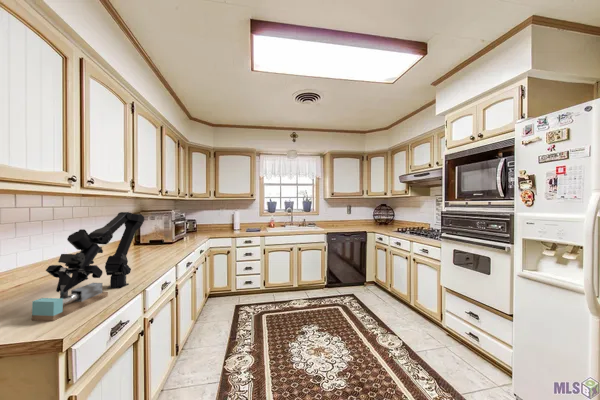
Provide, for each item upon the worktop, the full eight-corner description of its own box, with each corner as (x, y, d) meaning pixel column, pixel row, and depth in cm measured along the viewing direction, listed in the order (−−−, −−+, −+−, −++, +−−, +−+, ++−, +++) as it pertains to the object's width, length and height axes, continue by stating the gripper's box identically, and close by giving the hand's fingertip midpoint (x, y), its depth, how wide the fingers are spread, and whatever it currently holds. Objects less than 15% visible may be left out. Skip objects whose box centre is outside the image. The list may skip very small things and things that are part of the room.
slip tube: (82, 295, 105) (83, 277, 105) (89, 295, 105) (89, 277, 105) (49, 308, 91) (50, 287, 91) (57, 309, 91) (57, 288, 91)
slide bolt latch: (90, 295, 111) (91, 281, 111) (107, 296, 111) (108, 282, 111) (31, 320, 88) (32, 302, 88) (53, 320, 87) (53, 303, 88)
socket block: (41, 311, 91) (42, 297, 91) (62, 311, 91) (62, 298, 91) (31, 315, 88) (32, 301, 88) (53, 315, 87) (53, 301, 88)
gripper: (50, 245, 99) (19, 281, 88) (97, 245, 99) (72, 281, 88) (68, 260, 107) (41, 295, 96) (111, 260, 107) (90, 295, 96)
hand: (60, 291), depth 94 cm, fingers closed on slip tube, 2 cm apart
